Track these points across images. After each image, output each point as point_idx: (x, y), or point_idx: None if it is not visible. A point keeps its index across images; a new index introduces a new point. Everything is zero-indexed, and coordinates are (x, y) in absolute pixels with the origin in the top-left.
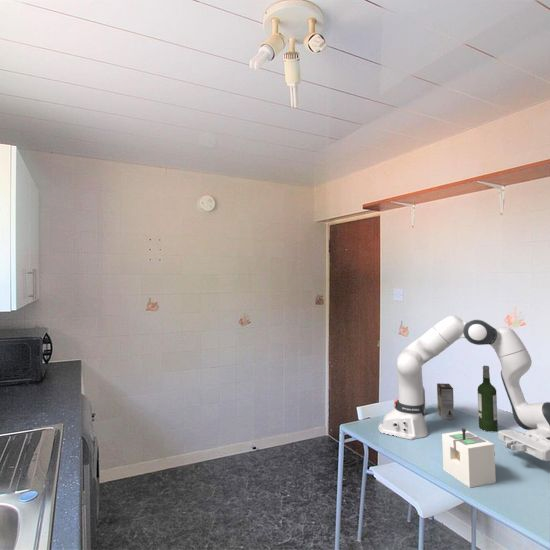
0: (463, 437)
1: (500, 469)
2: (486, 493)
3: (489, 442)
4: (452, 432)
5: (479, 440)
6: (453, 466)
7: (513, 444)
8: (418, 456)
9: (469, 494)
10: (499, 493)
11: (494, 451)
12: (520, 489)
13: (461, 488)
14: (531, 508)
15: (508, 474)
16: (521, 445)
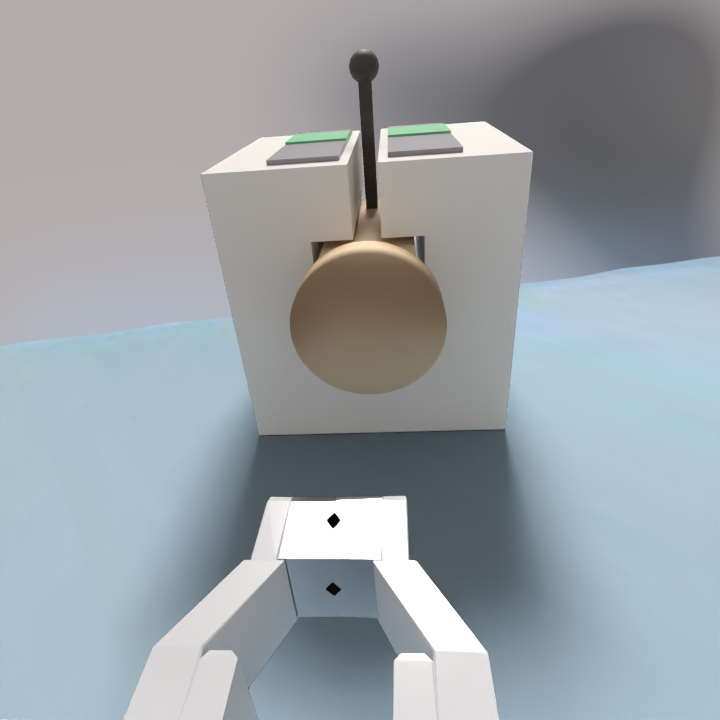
0: (365, 123)
1: None
2: (223, 359)
3: (242, 170)
4: (497, 131)
5: (299, 151)
6: None
7: (296, 549)
8: (637, 310)
9: None
10: (185, 394)
11: (290, 313)
12: (119, 500)
13: None
14: (17, 423)
15: None
16: (164, 638)
